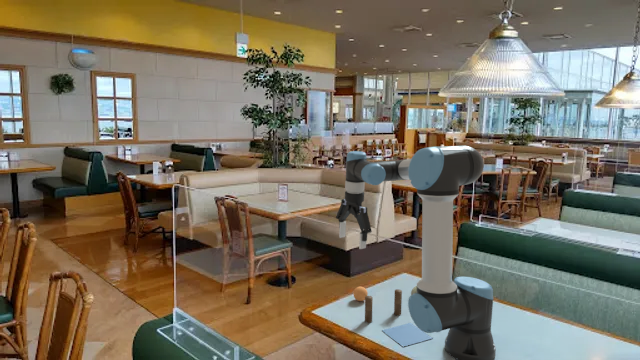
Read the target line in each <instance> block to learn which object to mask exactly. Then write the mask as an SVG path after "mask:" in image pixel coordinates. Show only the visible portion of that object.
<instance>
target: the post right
mask: <svg viewBox="0 0 640 360" xmlns="http://www.w3.org/2000/svg"><path fill="white" fill-rule="evenodd" d="M402 294H403V290H402V289H394V306H393V308H394V309H393V314H394V315H395V316H402V302H403V301H402V299H403V298H402V297H403V296H402Z"/></svg>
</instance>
